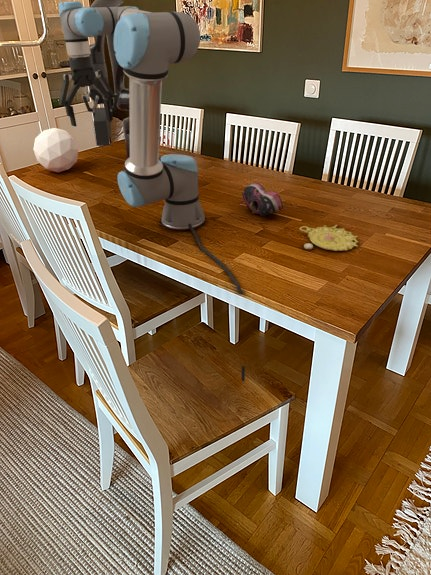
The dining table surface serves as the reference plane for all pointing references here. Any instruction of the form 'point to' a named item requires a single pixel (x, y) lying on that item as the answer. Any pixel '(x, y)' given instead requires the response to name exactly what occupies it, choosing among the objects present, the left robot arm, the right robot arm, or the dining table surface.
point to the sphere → (55, 150)
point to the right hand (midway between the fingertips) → (92, 122)
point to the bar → (102, 128)
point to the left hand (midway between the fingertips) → (103, 121)
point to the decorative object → (330, 238)
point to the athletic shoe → (261, 200)
